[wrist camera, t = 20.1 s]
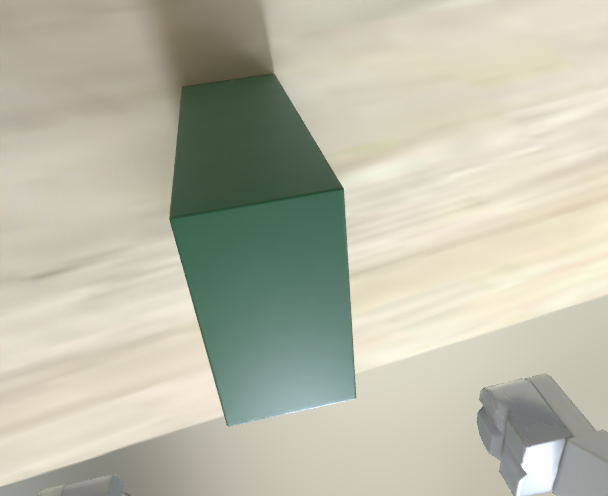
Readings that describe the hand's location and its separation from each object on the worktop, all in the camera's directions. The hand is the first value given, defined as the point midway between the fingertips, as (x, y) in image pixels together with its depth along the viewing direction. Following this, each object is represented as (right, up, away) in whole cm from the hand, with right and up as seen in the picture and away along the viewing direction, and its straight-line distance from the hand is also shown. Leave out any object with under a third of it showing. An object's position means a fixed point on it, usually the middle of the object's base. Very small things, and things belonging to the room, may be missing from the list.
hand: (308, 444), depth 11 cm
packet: (-2, +2, +14) cm, 14 cm away
